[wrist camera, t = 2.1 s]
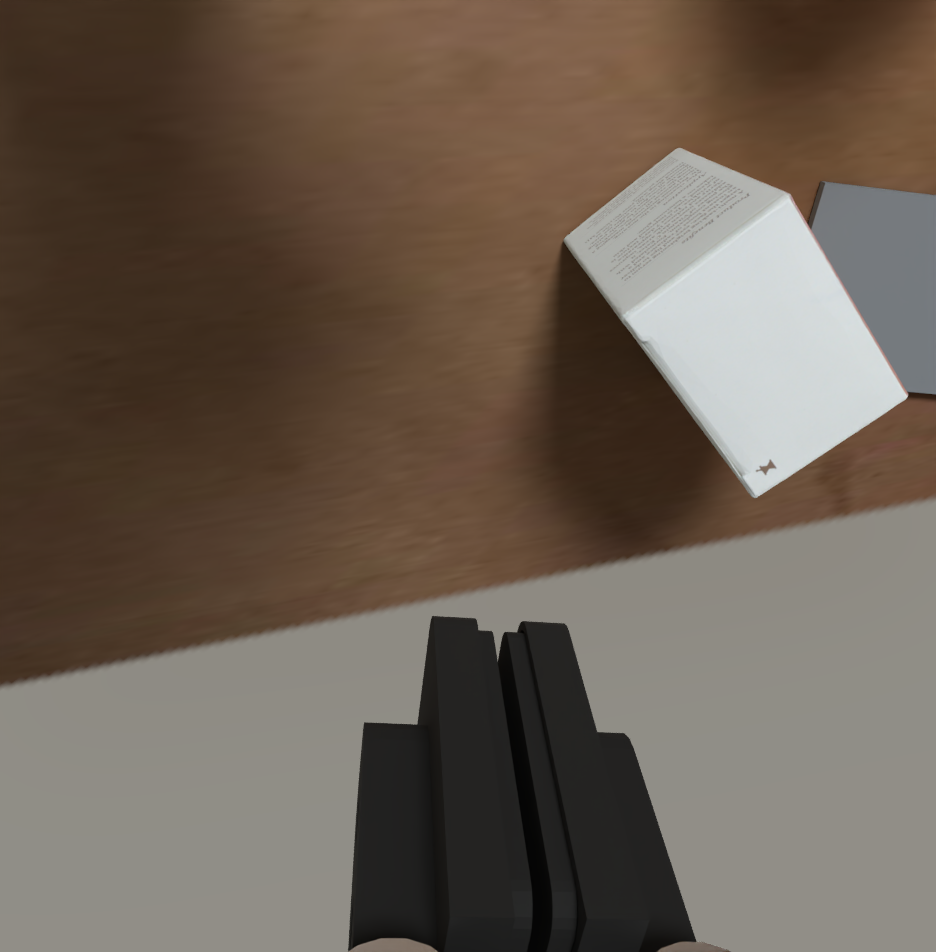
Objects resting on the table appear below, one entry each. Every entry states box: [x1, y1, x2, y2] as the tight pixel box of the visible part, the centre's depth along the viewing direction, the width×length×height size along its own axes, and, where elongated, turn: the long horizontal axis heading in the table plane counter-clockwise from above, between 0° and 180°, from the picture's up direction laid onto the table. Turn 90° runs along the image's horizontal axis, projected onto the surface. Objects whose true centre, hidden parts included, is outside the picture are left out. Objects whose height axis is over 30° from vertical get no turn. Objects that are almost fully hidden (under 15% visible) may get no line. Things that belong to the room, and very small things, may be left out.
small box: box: [564, 148, 908, 498], centre depth 29 cm, size 8×6×10 cm
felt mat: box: [808, 181, 936, 394], centre depth 35 cm, size 8×12×1 cm, turn 83°
